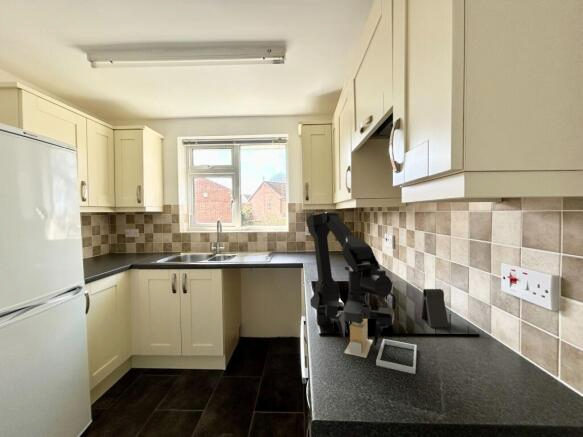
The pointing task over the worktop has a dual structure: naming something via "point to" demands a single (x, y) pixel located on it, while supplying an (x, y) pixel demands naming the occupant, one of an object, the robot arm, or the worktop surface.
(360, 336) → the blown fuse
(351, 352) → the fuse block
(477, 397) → the worktop surface
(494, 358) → the worktop surface
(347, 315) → the robot arm
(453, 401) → the worktop surface
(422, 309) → the phone stand
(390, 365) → the parts tray
